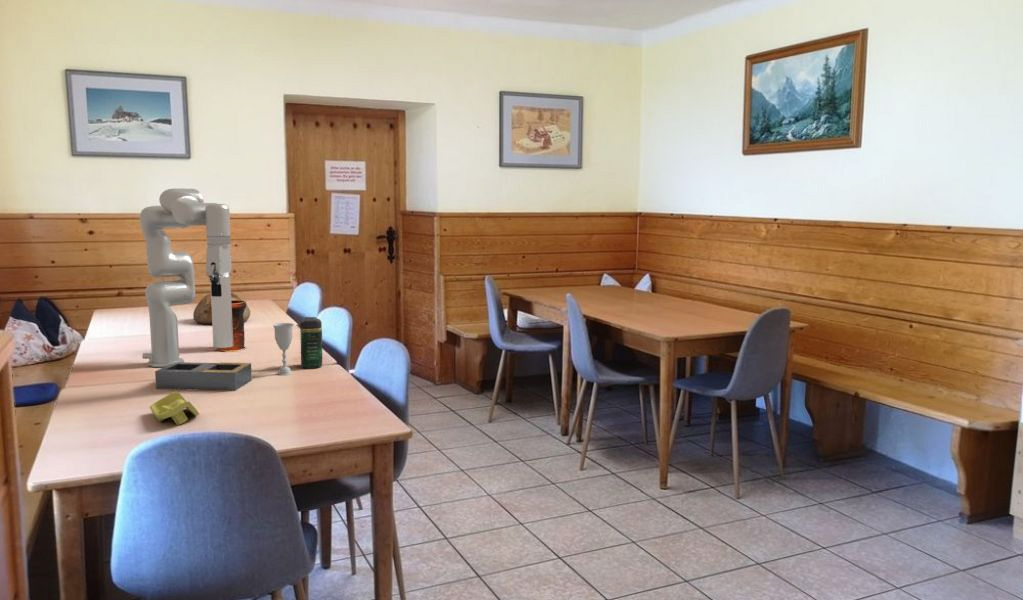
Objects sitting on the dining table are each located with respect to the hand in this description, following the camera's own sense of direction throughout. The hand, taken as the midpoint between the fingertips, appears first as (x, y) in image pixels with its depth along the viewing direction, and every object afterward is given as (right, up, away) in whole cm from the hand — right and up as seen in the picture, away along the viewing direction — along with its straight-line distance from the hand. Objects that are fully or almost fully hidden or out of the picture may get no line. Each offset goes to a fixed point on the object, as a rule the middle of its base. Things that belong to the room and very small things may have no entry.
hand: (221, 294), depth 263 cm
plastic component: (0, -37, -36) cm, 51 cm away
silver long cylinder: (0, -18, +2) cm, 18 cm away
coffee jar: (+22, -27, +34) cm, 49 cm away
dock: (-7, -31, +5) cm, 32 cm away
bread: (-48, -13, +133) cm, 142 cm away
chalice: (+15, -29, +21) cm, 39 cm away
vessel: (-21, -22, +66) cm, 72 cm away
